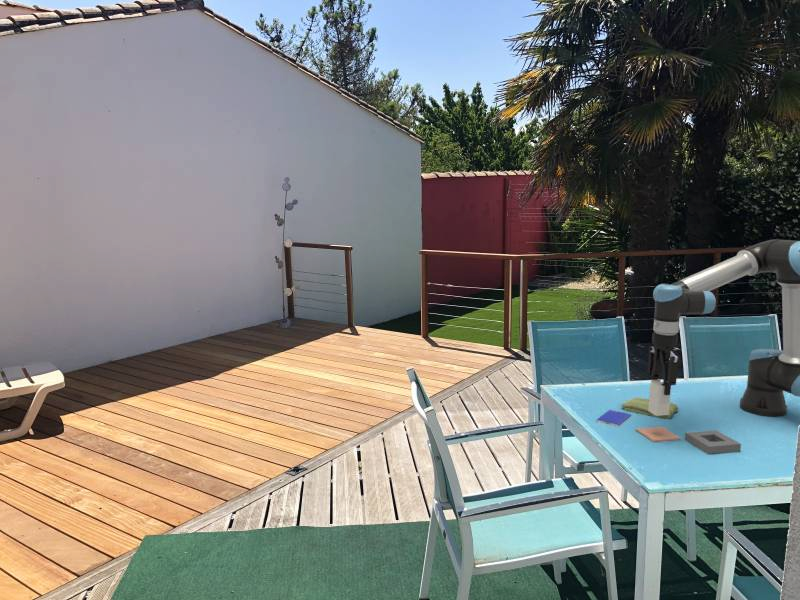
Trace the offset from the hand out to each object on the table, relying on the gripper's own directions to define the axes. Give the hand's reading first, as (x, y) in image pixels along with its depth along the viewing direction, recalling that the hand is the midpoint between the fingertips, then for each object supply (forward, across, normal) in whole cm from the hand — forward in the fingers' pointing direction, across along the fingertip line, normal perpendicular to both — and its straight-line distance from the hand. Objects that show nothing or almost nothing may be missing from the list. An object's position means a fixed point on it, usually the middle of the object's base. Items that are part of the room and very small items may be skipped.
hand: (659, 400), depth 198 cm
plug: (+4, 0, 0) cm, 4 cm away
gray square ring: (+12, +11, +12) cm, 20 cm away
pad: (+12, 0, 0) cm, 12 cm away
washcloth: (+13, -22, +12) cm, 28 cm away
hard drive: (+13, -16, -6) cm, 21 cm away
